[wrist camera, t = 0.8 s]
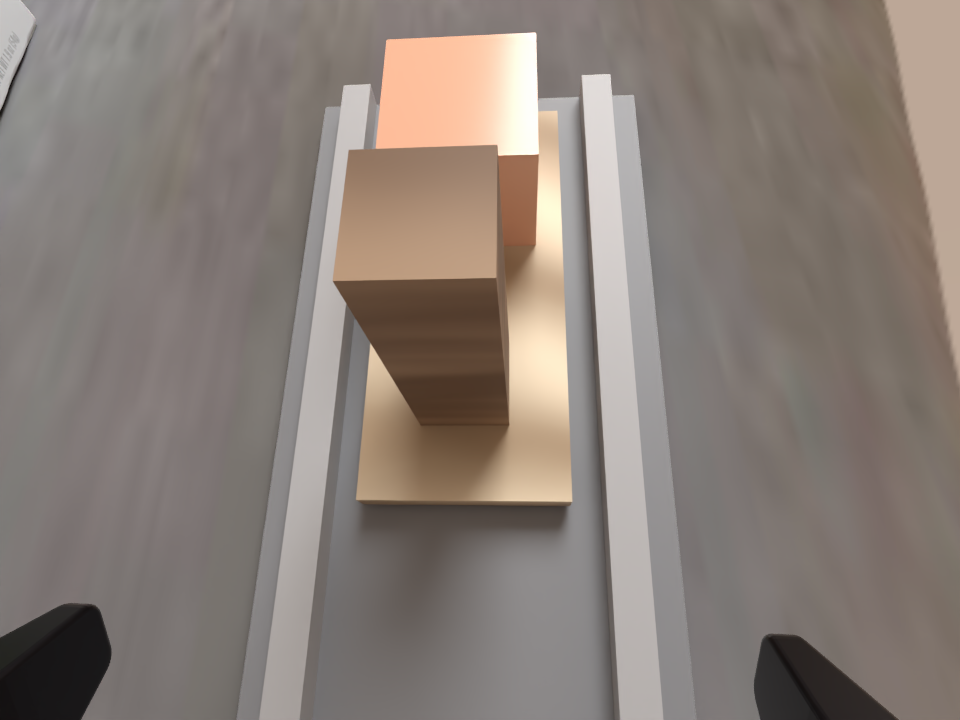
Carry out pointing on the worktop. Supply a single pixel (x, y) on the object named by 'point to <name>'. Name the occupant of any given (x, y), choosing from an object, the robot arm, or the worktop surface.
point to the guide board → (480, 528)
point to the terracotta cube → (470, 110)
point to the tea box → (13, 40)
